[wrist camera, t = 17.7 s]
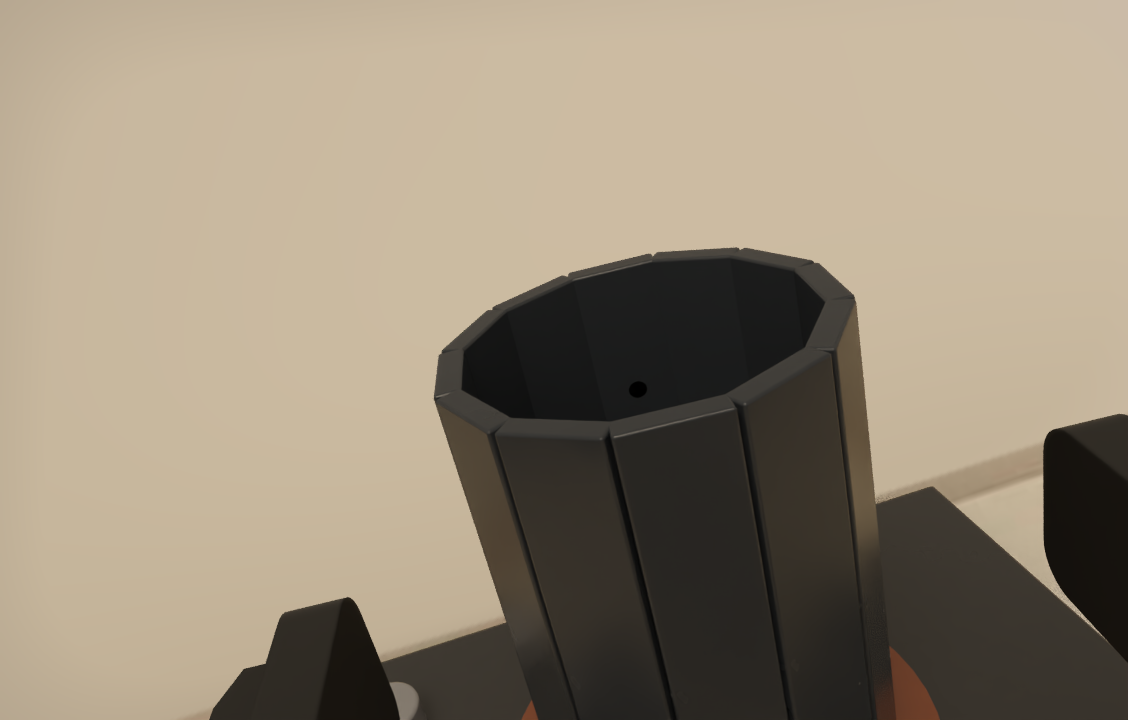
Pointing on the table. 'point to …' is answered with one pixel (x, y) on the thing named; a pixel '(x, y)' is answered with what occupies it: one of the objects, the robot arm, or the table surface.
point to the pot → (677, 489)
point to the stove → (915, 630)
